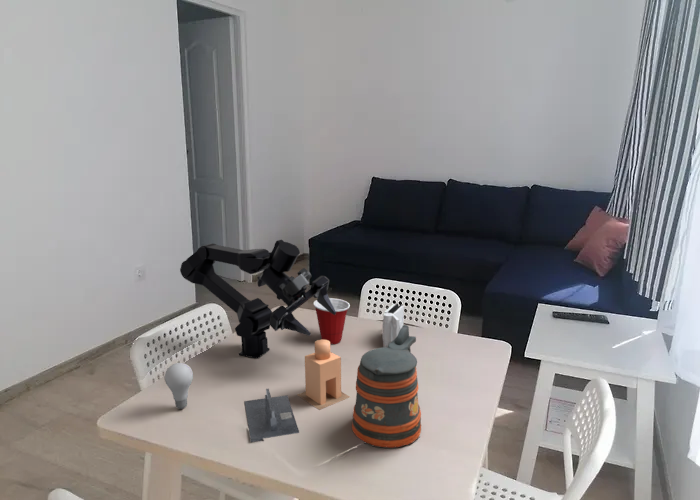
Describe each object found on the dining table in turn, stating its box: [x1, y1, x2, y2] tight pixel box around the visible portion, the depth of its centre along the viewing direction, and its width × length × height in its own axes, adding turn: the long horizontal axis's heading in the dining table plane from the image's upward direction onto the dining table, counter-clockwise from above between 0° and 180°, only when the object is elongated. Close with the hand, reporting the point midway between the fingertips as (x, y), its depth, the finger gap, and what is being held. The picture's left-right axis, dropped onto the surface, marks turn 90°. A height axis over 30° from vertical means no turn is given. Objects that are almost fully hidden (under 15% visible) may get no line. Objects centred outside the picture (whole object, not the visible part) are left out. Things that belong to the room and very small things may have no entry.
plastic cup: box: [313, 297, 351, 345], centre depth 156 cm, size 11×11×12 cm
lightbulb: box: [164, 362, 194, 410], centre depth 119 cm, size 6×6×11 cm
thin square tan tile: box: [297, 390, 351, 411], centre depth 125 cm, size 9×9×1 cm
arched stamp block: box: [304, 339, 342, 405], centre depth 123 cm, size 6×6×14 cm
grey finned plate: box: [244, 388, 300, 443], centre depth 115 cm, size 16×10×5 cm, turn 15°
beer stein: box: [351, 324, 422, 449], centre depth 112 cm, size 19×15×20 cm
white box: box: [382, 303, 405, 348], centre depth 154 cm, size 14×5×10 cm, turn 168°
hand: (323, 324), depth 134 cm, fingers open, 9 cm apart
